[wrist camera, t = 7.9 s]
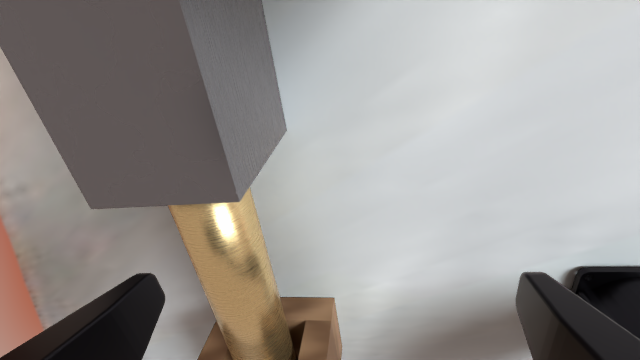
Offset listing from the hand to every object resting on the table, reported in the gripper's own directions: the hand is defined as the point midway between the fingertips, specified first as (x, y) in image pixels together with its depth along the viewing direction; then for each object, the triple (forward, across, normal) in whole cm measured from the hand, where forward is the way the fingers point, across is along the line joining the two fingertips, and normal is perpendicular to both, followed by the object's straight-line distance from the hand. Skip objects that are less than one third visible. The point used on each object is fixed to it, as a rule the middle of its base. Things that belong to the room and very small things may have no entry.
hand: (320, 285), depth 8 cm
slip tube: (+10, +7, +7) cm, 14 cm away
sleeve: (+12, +7, -5) cm, 15 cm away
